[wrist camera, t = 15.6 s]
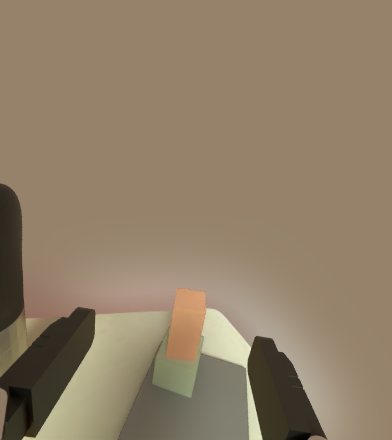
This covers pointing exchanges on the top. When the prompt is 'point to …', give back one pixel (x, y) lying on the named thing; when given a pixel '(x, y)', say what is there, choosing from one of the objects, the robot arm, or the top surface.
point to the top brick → (186, 324)
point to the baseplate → (192, 407)
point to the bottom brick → (175, 370)
